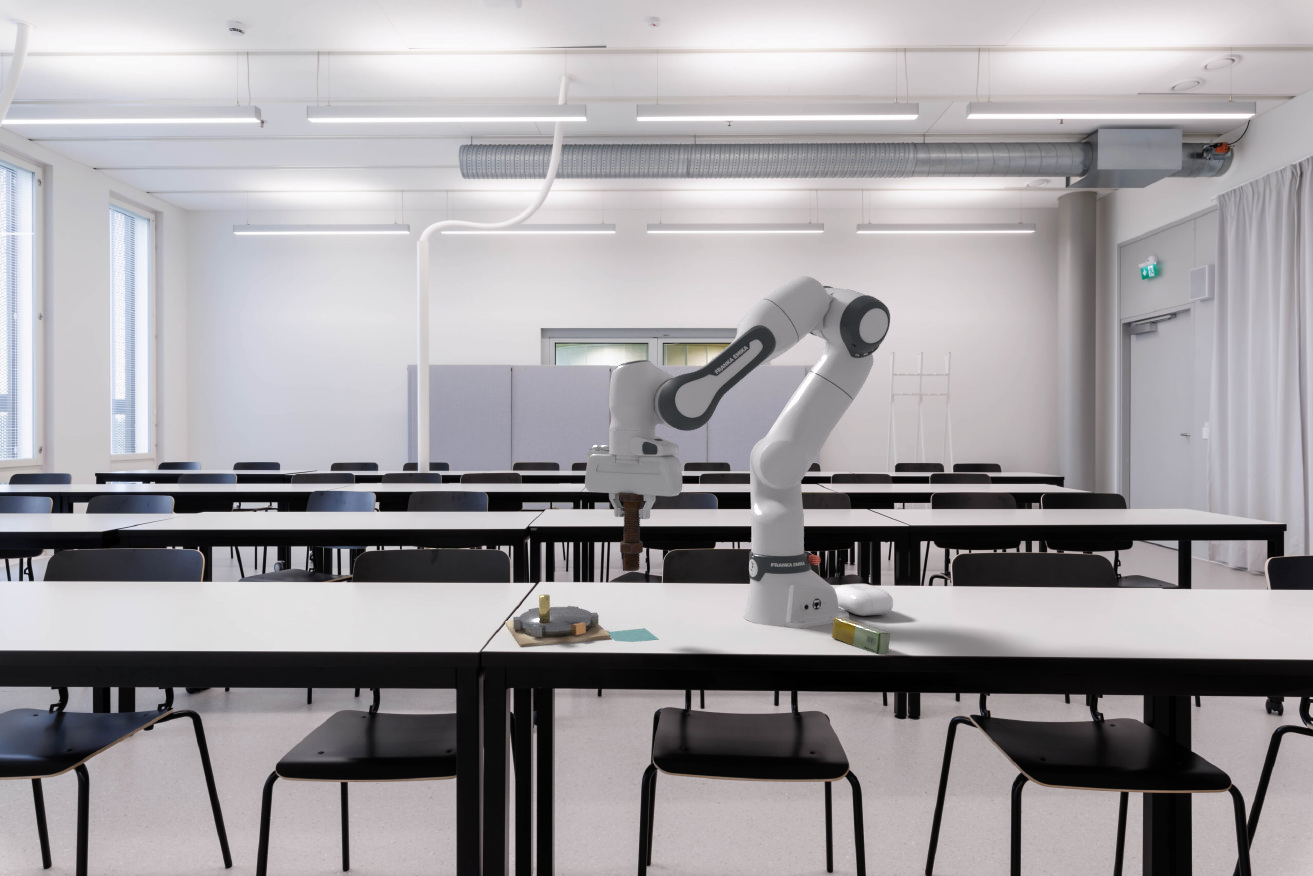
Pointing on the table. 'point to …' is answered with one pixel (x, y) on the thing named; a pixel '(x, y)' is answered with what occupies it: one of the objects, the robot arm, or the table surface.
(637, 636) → the pad
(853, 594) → the earbud case
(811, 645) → the table surface
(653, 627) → the table surface
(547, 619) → the sprocket
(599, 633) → the sprocket base
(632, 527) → the bolt
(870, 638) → the medication box
